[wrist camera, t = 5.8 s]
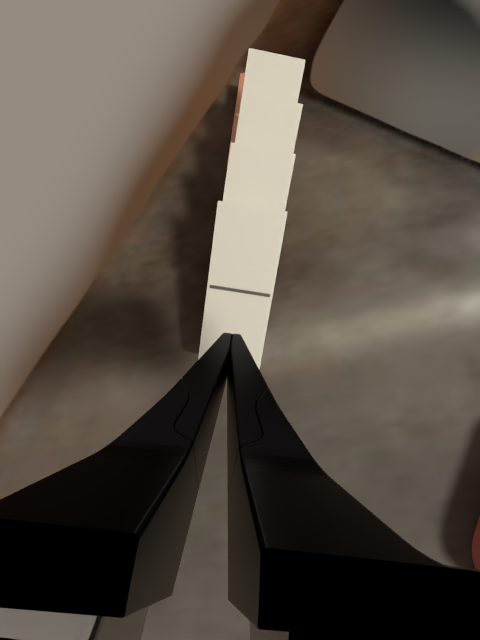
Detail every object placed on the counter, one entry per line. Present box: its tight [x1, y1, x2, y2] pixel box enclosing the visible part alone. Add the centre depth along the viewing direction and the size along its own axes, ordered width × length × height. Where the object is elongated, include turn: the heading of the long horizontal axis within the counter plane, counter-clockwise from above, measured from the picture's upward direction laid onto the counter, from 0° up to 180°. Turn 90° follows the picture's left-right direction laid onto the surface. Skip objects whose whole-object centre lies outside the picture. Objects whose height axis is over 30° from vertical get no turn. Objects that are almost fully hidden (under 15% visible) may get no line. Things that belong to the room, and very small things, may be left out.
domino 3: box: [235, 92, 303, 153], centre depth 16 cm, size 2×5×12 cm
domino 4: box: [236, 48, 305, 132], centre depth 17 cm, size 2×5×12 cm
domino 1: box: [198, 201, 287, 369], centre depth 14 cm, size 2×5×12 cm
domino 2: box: [223, 142, 296, 211], centre depth 15 cm, size 2×5×12 cm
